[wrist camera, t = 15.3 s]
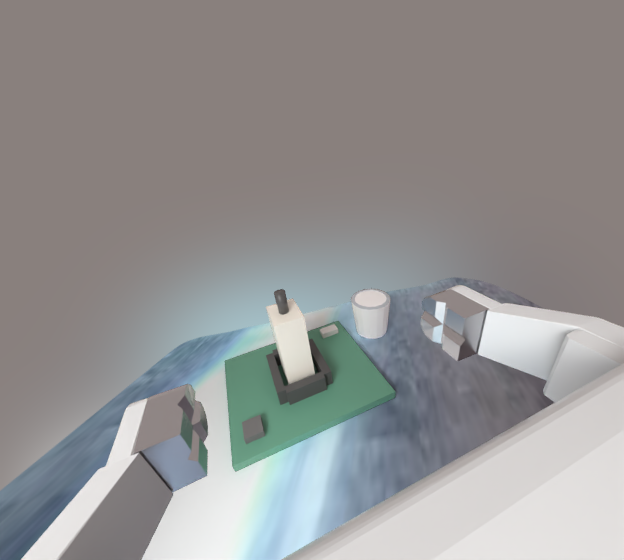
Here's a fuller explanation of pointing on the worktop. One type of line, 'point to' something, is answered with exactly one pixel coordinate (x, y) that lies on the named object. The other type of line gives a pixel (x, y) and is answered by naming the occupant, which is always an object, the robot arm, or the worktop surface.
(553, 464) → the robot arm
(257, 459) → the circuit board
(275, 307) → the plug
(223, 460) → the worktop surface
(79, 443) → the worktop surface
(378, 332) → the white cup
